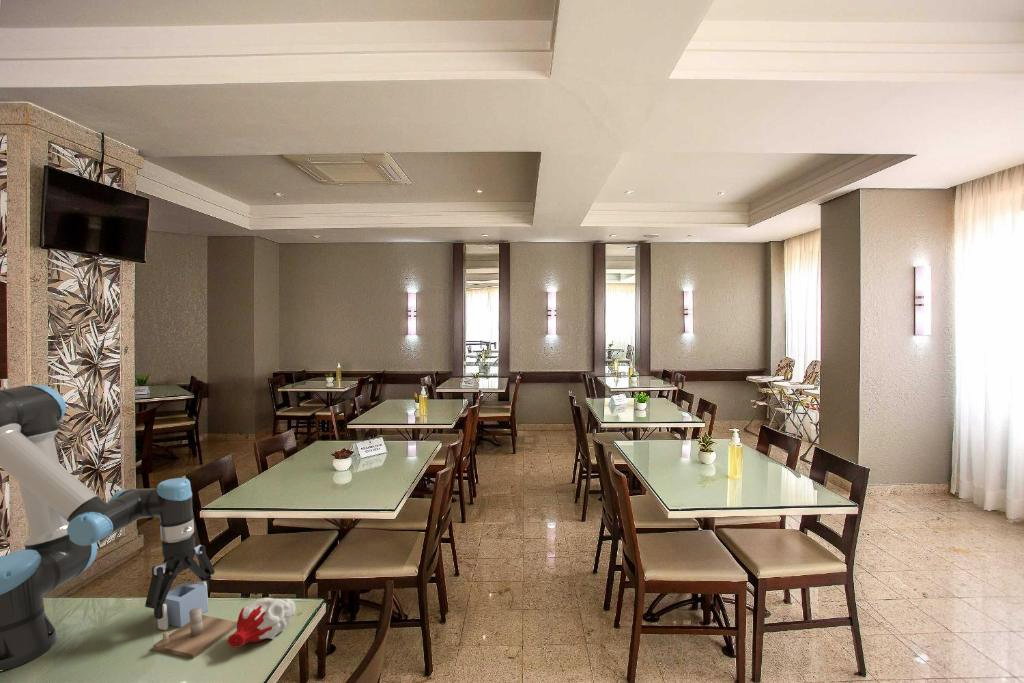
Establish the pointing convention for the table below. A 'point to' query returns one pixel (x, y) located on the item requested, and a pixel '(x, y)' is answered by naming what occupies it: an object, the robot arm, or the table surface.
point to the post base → (199, 641)
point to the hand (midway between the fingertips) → (184, 615)
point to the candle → (262, 620)
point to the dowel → (165, 639)
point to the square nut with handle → (185, 602)
